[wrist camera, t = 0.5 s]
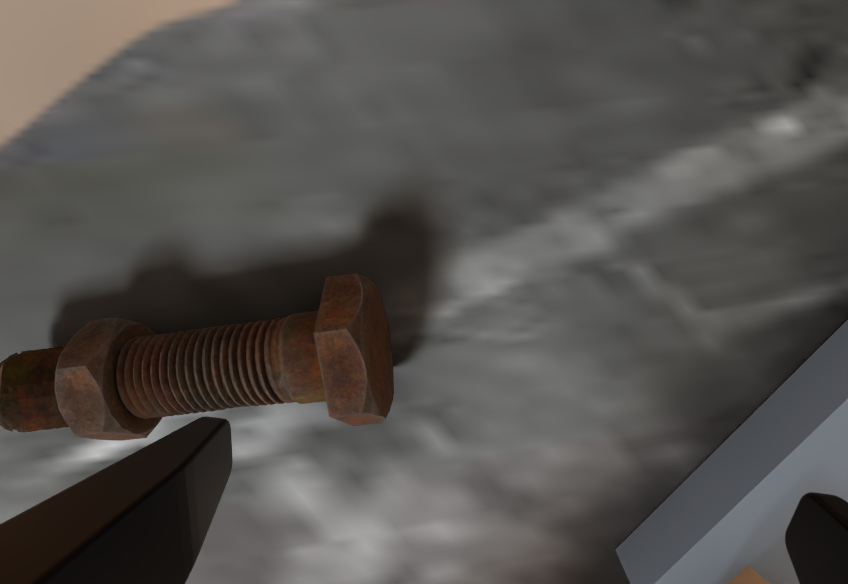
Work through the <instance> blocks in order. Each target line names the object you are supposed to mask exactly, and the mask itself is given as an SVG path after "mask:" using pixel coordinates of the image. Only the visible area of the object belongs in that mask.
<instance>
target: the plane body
mask: <svg viewBox="0 0 848 584" xmlns="http://www.w3.org/2000/svg"><path fill="white" fill-rule="evenodd" d="M809 492H815V493H823V494H831V495H835V496H838V497H840V498H842V499H843V500H845V501H847V502H848V320H847V321H846V322H845V323H844V324H843V325H842V326H841V327H840V328H839V329H838V330H837V331H836V332H835V333H834V334H833V335H832V336H831V337H829V338H828V339H827V340H826V341H825V342H824V343H823V344H822V345H821V346H820V347H819V348H818V349H817V350H816V351H815V352H814V353H813V354H812V355H811V356H810V357H809V358H808V359H807V360H806V361H805V362H804V363H803V364H802V365H801V366H800V367H799V368H798V369H797V370H796V371H795V372H794V373H793V374H792V375H791V376H790V377H789V378H788V379H787V380H786V381H785V382H784V383H783V384H782V385H781V386H780V387H779V388H778V389H777V390H776V391H775V392H774V393H773V394H772V395H771V396H770V397H769V398H768V399H767V400H766V401H765V402H764V403H763V404H762V405H761V406H760V407H759V408H758V409H757V410H756V411H755V412H754V413H753V414H752V415H751V416H750V417H749V418H748V419H747V420H746V421H745V422H744V423H743V424H742V425H741V426H740V427H739V428H738V429H737V430H736V431H735V432H733V433H732V434H731V435H730V436H729V437H728V438H727V439H726V440H725V441H724V442H723V443H722V444H721V445H720V446H719V447H718V448H717V449H716V450H715V451H714V452H713V453H712V454H711V455H710V456H709V457H708V458H707V459H706V460H705V461H704V462H703V463H702V464H701V465H700V466H699V467H698V468H697V469H696V470H695V471H694V472H693V473H692V474H691V475H690V476H689V477H688V478H687V479H686V480H685V481H684V482H683V483H682V484H681V485H680V486H679V487H678V488H677V489H676V490H675V491H674V492H673V493H672V494H671V495H670V496H669V497H668V498H667V499H666V500H665V501H664V502H663V503H662V504H661V505H660V506H659V507H658V508H657V509H656V510H655V511H654V512H653V513H652V514H651V515H650V516H649V517H648V518H647V519H646V520H645V521H644V522H643V523H642V524H641V525H640V526H639V527H638V528H636V529H635V530H634V531H633V532H632V533H631V534H630V535H629V536H628V537H627V538H626V539H625V540H624V541H623V542H622V543H621V544H620V545H619V546H618V547H617V548H616V549H615V551H616V553H617V555H618V557H619V560H620V562H621V564H622V566H623V569H624V571H625V573H626V575H627V578H628V580H629V582H630V584H799V581H798V578H797V576H796V573H795V570H794V567H793V565H792V562H791V559H790V557H789V554H788V551H787V548H786V544H785V533H786V529H787V527H788V525H789V523H790V521H791V518H792V516H793V514H794V512H795V510H796V507H797V505H798V503H799V501H800V499H801V497H802V496H803V495H804V494H806V493H809Z"/></svg>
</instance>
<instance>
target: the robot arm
mask: <svg viewBox="0 0 848 584" xmlns="http://www.w3.org/2000/svg"><path fill="white" fill-rule="evenodd" d="M231 469H232V443H231V427H230V424H229V422H228V421H227V420H226V419H221V418H213V417H201V418H199V419H197V420H195V421H193V422H191V423H189V424H187V425H186V426H184V427H182V428H180V429H178V430H176V431H174V432H172V433H171V434H169V435H167V436H165V437H163V438H161V439H159V440H157V441H156V442H154V443H152V444H150V445H148V446H146V447H144V448H142V449H141V450H139V451H137V452H135V453H133V454H131V455H129V456H127V457H126V458H124V459H122V460H120V461H118V462H116V463H114V464H112V465H111V466H109V467H107V468H105V469H103V470H101V471H99V472H97V473H96V474H94V475H92V476H90V477H88V478H86V479H84V480H82V481H81V482H79V483H77V484H75V485H73V486H71V487H69V488H67V489H66V490H64V491H62V492H60V493H58V494H56V495H54V496H52V497H51V498H49V499H47V500H45V501H43V502H41V503H39V504H37V505H36V506H34V507H32V508H30V509H28V510H26V511H24V512H22V513H21V514H19V515H17V516H15V517H13V518H11V519H9V520H7V521H5V522H4V523H2V524H0V584H185V582H186V580H187V578H188V576H189V574H190V572H191V570H192V568H193V566H194V564H195V562H196V559H197V557H198V555H199V552H200V550H201V547H202V545H203V542H204V540H205V537H206V535H207V532H208V529H209V527H210V524H211V522H212V519H213V517H214V514H215V512H216V509H217V507H218V504H219V502H220V499H221V497H222V494H223V492H224V489H225V486H226V484H227V481H228V479H229V476H230V473H231ZM785 544H786V548H787V551H788V554H789V557H790V559H791V562H792V565H793V567H794V570H795V573H796V576H797V578H798V581H799V584H848V502H847V501H845V500H843V499H842V498H840V497H838V496H835V495H831V494H823V493H815V492H809V493H806V494H804V495H803V496H802V497H801V499H800V501H799V503H798V505H797V507H796V510H795V512H794V514H793V516H792V518H791V521H790V523H789V525H788V527H787V529H786V533H785Z"/></svg>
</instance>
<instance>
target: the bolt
mask: <svg viewBox="0 0 848 584" xmlns="http://www.w3.org/2000/svg"><path fill="white" fill-rule="evenodd" d="M393 394H394V382H393V358H392V347H391V342H390V336H389V327H388V322H387V318H386V314H385V310H384V306H383V303H382V300H381V297H380V294H379V291H378V288H377V286H376V285H375V284H374V283H373V282H372V281H371V280H369V279H367V278H366V277H364V276H361V275H359V274H357V273H352V274H345V275H337V276H329V277H326V280H325V284H324V289H323V293H322V298H321V302H320V307H319V310H317V311H310V312H302V313H295V314H291V315H289V316H288V317H283V318H282V319H281V318H277V319H274V320H271V319H268V320H266V321H262V320H260V321H257V322H249V323H246V322H245V323H241V324H232V325H223V326H215V327H207V328H201V329H191V330H184V331H182V332H181V331H178V332H174V333H173V332H170V333H167V334H166V333H162V334H159V335H158V334H156V333H155V332H154V331H153V330H152V329H151V328H149V327H148V326H146V325H144V324H141V323H138V322H134V321H131V320H127V319H122V318H118V317H113V318H106V319H98V320H91V321H89V322H88V323H87V324H86V325H84V326H83V327H82V328H81V329H80V330H79V331H78V332H77V333H76V334H75V335H74V336H73V337H72V338H71V339H70V340H69V342H68V343H67V344H66V346H65V347H56V348H48V349H41V350H30V351H23V352H22V353H21V354H17V353H15V354H13V355H11V356H9V357H8V358H7V359H5V360H4V361H2V362H1V363H0V425H1V426H2V427H3V428H5V429H7V430H9V431H12V430H13V429H15V430H17V431H18V432H31V431H37V430H48V429H54V428H62V427H70V428H71V430H72V431H73V433H74V434H75V435H77V436H79V437H83V438H90V439H100V440H130V439H139V438H146V437H147V436H148V435H149V434H150V433H151V432H152V430H153V429H154V428H155V427H156V426H157V424H158V423H159V422H160V420H161V419H162V417H165V416H174V415H183V414H190V413H198V412H206V411H215V410H224V409H226V408H234V407H242V406H243V407H246V406H258V405H267V404H270V405H272V404H275V403H278V404H282V403H285V402H286V403H291V402H298V403H300V404H303V403H313V402H323V401H327V406H328V412H329V416H330V417H332V418H334V419H337V420H339V421H342V422H345V423H347V424H350V425H353V426H357V425H366V424H375V423H382V422H383V421H384V420H385V419H386V417H387V415H388V413H389V411H390V408H391V404H392V401H393Z"/></svg>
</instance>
